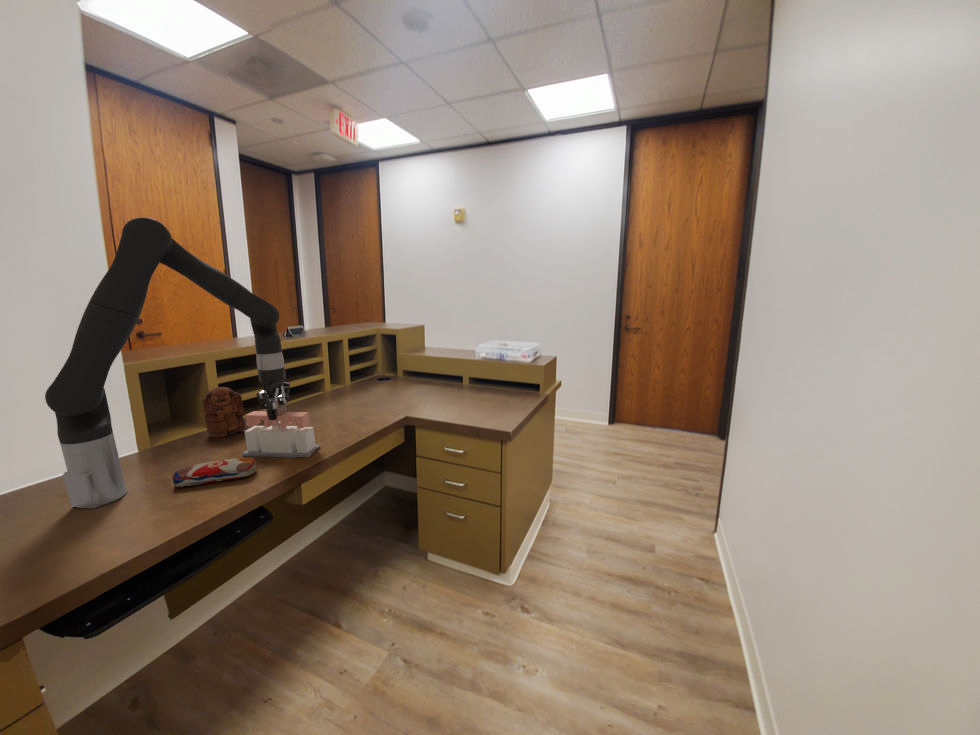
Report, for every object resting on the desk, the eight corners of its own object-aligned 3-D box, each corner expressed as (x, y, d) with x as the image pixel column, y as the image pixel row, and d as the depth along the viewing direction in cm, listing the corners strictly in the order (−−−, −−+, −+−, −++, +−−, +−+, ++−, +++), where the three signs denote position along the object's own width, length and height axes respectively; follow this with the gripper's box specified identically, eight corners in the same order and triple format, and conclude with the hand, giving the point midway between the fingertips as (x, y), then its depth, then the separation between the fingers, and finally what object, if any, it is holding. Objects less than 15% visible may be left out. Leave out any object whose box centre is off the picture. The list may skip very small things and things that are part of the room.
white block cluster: (307, 457, 120) (304, 428, 118) (242, 456, 122) (238, 427, 120) (320, 447, 128) (317, 419, 126) (258, 445, 129) (254, 418, 127)
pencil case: (241, 487, 103) (239, 471, 102) (166, 491, 101) (162, 474, 100) (262, 468, 114) (259, 453, 113) (193, 471, 112) (190, 456, 111)
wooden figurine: (210, 440, 134) (201, 392, 130) (207, 435, 139) (199, 388, 135) (248, 431, 142) (241, 386, 138) (244, 427, 147) (237, 382, 143)
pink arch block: (302, 428, 120) (300, 409, 119) (246, 427, 121) (243, 408, 120) (310, 423, 124) (308, 404, 123) (255, 422, 126) (252, 403, 124)
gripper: (268, 371, 111) (275, 425, 115) (295, 362, 125) (300, 410, 129) (244, 371, 112) (251, 425, 116) (273, 361, 126) (280, 410, 129)
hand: (277, 417), depth 122 cm, fingers closed on pink arch block, 4 cm apart
